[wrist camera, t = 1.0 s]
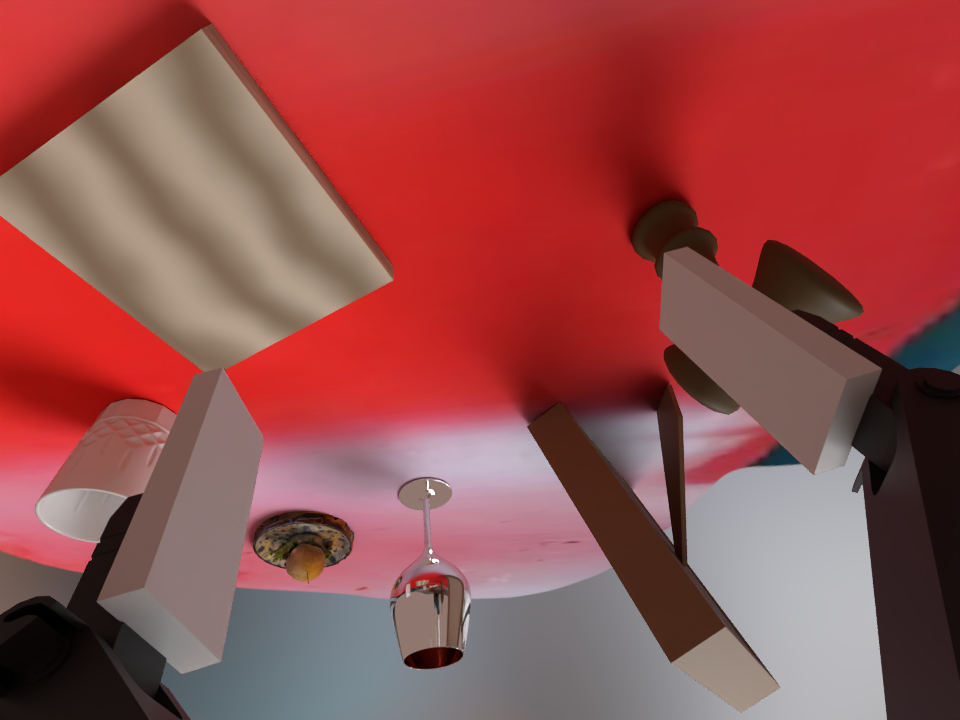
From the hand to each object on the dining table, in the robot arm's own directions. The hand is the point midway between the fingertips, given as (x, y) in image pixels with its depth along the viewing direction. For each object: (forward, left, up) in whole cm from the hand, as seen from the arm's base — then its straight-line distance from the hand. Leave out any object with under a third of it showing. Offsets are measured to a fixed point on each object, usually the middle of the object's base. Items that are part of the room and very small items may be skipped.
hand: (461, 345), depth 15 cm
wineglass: (+22, +36, -23) cm, 48 cm away
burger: (+39, +35, -24) cm, 57 cm away
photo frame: (-2, +41, -23) cm, 47 cm away
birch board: (+17, -1, -23) cm, 29 cm away
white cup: (+37, +10, -23) cm, 45 cm away
